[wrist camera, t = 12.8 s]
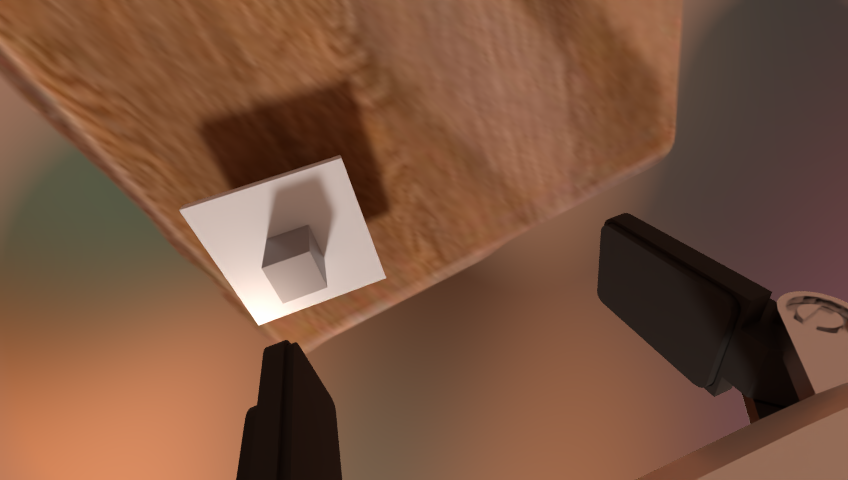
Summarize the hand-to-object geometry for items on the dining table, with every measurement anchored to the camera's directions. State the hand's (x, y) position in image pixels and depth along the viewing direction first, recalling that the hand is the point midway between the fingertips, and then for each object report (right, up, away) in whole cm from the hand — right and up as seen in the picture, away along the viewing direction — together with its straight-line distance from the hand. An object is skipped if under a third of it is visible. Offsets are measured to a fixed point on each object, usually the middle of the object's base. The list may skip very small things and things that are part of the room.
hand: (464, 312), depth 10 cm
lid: (-14, +2, +25) cm, 28 cm away
